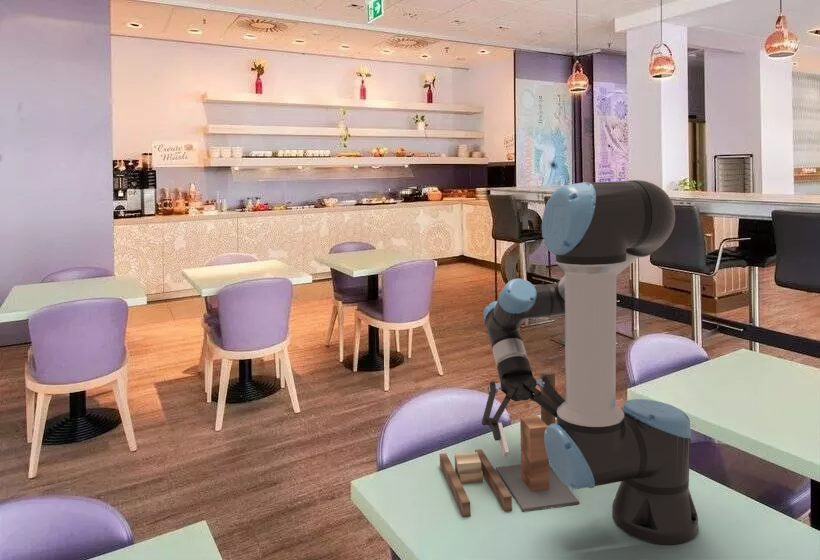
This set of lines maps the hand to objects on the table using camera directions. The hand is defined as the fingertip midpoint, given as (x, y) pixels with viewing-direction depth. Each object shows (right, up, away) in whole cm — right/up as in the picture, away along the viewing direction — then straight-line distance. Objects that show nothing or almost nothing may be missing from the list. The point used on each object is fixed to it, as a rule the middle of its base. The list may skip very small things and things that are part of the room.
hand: (536, 450), depth 125 cm
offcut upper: (-14, -6, +7) cm, 17 cm away
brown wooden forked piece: (+12, -4, +26) cm, 29 cm away
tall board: (0, -8, +3) cm, 8 cm away
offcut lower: (-14, -9, +8) cm, 18 cm away
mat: (0, -8, +3) cm, 9 cm away
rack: (-13, -9, +4) cm, 16 cm away
